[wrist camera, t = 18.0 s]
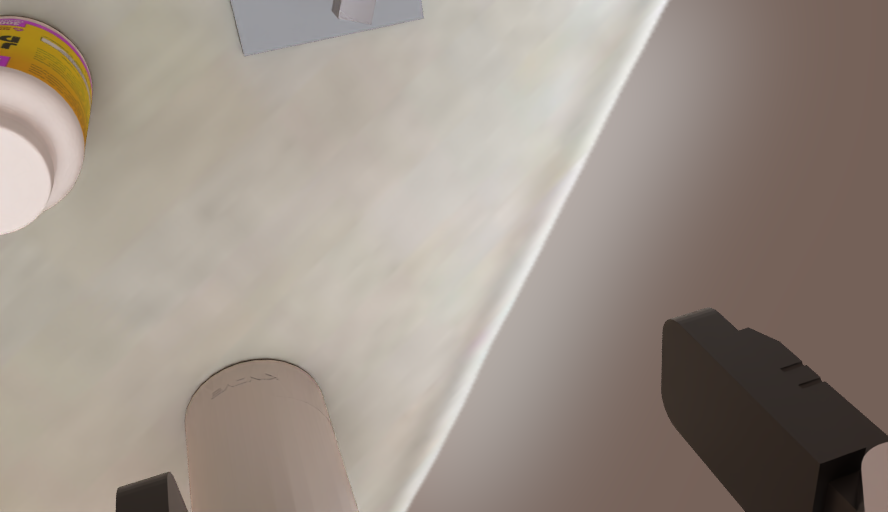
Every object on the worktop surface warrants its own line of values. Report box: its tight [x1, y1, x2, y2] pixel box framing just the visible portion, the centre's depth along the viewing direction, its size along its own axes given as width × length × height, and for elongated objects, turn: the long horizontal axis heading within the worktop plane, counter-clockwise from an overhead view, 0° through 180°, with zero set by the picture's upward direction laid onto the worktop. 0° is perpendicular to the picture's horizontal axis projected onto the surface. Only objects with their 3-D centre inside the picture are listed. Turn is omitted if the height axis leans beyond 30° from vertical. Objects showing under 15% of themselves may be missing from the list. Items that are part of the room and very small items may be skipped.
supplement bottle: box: [0, 16, 93, 235], centre depth 37 cm, size 7×7×13 cm
